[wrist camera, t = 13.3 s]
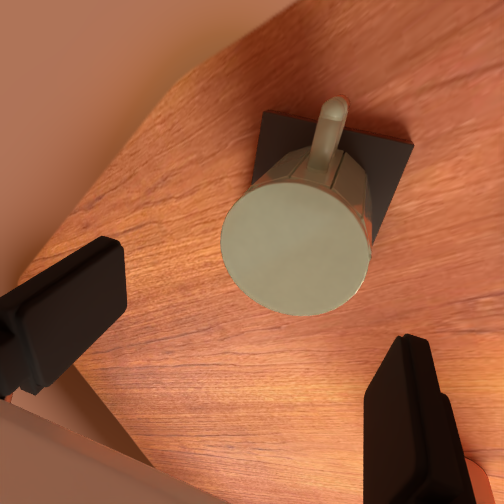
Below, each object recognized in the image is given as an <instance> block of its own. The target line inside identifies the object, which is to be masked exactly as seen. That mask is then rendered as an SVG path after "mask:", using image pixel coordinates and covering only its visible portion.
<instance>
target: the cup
mask: <svg viewBox="0 0 504 504" xmlns="http://www.w3.org/2000/svg"><path fill="white" fill-rule="evenodd" d="M349 108H350V100H349V98H348V97H347V96H346V95H343V94H340V95H336V96H335V97H333V98H331V99H329V100H327V101H326V102H325V103H324V104H323V105H322V107H321V111H320V115H319V118H318V122H317V126H316V130H315V134H314V138H313V142H312V145H311V146H308V147H305V148H301V149H298V150H295V151H292V152H289V153H288V154H286V155H285V156H284V157H283V158H282V159H281V160H279V161H278V162H277V163H276V164H275V165H274V166H273V167H272V168H271V169H269V170H268V171H267V172H266V173H265V174H264V175H263V176H262V177H261V178H259V179H258V180H257V181H256V182H255V183H254V184H253V185H252V186H251V187H249V189H248V190H247V191H246V192H245V193H244V194H243V195H242V197H241V198H240V199H239V200H238V201H237V202H236V203H235V204H234V205H233V206H232V208H231V209H230V210H229V212H228V214H227V216H226V218H225V220H224V223H223V226H222V231H221V240H220V244H221V253H222V257H223V261H224V264H225V267H226V269H227V271H228V273H229V275H230V276H231V278H232V279H233V281H234V282H235V283H236V285H237V286H238V287H239V288H240V289H241V290H242V291H243V292H244V293H245V294H246V295H247V296H248V297H250V298H251V299H252V300H254V301H255V302H257V303H258V304H260V305H262V306H264V307H266V308H268V309H270V310H273V311H276V312H279V313H282V314H287V315H294V316H312V315H319V314H322V313H326V312H329V311H331V310H334V309H336V308H338V307H340V306H341V305H343V304H344V303H346V302H347V301H348V300H349V299H350V298H351V297H353V296H354V295H355V294H356V292H357V291H358V289H359V288H360V287H361V285H362V283H363V281H364V279H365V277H366V274H367V271H368V265H369V261H370V259H371V253H372V196H371V191H370V187H369V182H368V177H367V174H365V170H364V169H363V168H362V167H361V166H360V165H359V164H358V163H357V162H356V161H355V160H354V159H353V158H352V157H351V156H350V155H349V154H348V153H347V152H345V153H344V151H343V150H339V149H337V148H338V145H339V142H340V138H341V135H342V132H343V128H344V125H345V121H346V118H347V115H348V111H349ZM343 153H344V154H343Z"/></svg>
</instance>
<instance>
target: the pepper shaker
mask: <svg viewBox="0 0 504 504" xmlns="http://www.w3.org/2000/svg"><path fill="white" fill-rule="evenodd" d="M465 461H466V464H467V468H468V472H469V476H470V480H471V484H472V487H473V491H474V495H475V499H476V503H477V504H495V500H494V497H493V493H492V490H491V486H490V483H489V479H488V477H487V475H486V474H485V472H484V470H483V469H482V468H480V467H479V466H478V465H477V464H475V463H474V462H473V461H471V460H469V459H466V458H465Z"/></svg>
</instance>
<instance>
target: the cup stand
mask: <svg viewBox="0 0 504 504" xmlns="http://www.w3.org/2000/svg"><path fill="white" fill-rule="evenodd" d="M317 122H318V121H317V120H313V119H308V118H304V117H299V116H295V115H290V114H286V113H281V112H277V111H272V110H267V111H264V112H263V116H262V122H261V128H260V134H259V141H258V147H257V153H256V159H255V165H254V171H253V177H252V183H251V186H252V185H253V184H254V183H255V182H256V181H257V180H258V179H259V178H261V177H262V176H263V175H264V174H265V173H266V172H267V171H268V170H269V169H271V168H272V167H273V166H274V165H275V164H276V163H277V162H278V161H279V160H281V159H282V158H283V157H284V156H285V155H286V154H288V153H289V152H292V151H295V150H298V149H301V148H305V147H308V146H311V145H312V142H313V138H314V134H315V130H316V126H317ZM413 148H414V144H413V142H412V141H408V140H403V139H399V138H394V137H390V136H385V135H381V134H376V133H372V132H367V131H363V130H358V129H354V128H349V127H344V128H343V132H342V135H341V138H340V142H339V145H338V148H337V149H339V150H343V151H344V153H345V152H347V153H348V154H349V155H350V156H351V157H352V158H353V159H354V160H355V161H356V162H357V163H358V164H359V165H360V166H361V167H362V168H363V169H364V170H365V174H367V177H368V182H369V187H370V191H371V196H372V246H373V243H374V241H375V238H376V236H377V234H378V231H379V229H380V226H381V224H382V222H383V219H384V217H385V214H386V212H387V210H388V207H389V205H390V202H391V200H392V198H393V195H394V193H395V191H396V188H397V186H398V183H399V181H400V179H401V176H402V174H403V171H404V169H405V167H406V164H407V162H408V159H409V157H410V155H411V152H412V150H413ZM344 153H343V154H344Z"/></svg>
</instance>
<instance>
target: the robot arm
mask: <svg viewBox="0 0 504 504" xmlns="http://www.w3.org/2000/svg"><path fill="white" fill-rule="evenodd" d="M126 308H127V292H126V276H125V261H124V249H123V247H122V246H121V244H120V242H119V241H118V240H115V239H112V238H109V237H105V236H100V237H98V238H97V239H95V240H93V241H92V242H90V243H88V244H87V245H85V246H84V247H82V248H80V249H79V250H77V251H75V252H74V253H72V254H70V255H69V256H67V257H66V258H64V259H62V260H61V261H59V262H57V263H56V264H54V265H52V266H51V267H49V268H48V269H46V270H44V271H43V272H41V273H39V274H38V275H36V276H34V277H33V278H31V279H30V280H28V281H26V282H25V283H23V284H21V285H20V286H18V287H16V288H15V289H13V290H12V291H10V292H8V293H7V294H5V295H3V296H2V297H0V504H231V503H229V502H227V501H225V500H222V499H220V498H218V497H216V496H214V495H212V494H209V493H207V492H205V491H203V490H201V489H199V488H196V487H194V486H192V485H190V484H188V483H186V482H183V481H181V480H179V479H177V478H175V477H172V476H170V475H168V474H166V473H164V472H161V471H159V470H157V469H155V468H153V467H150V466H148V465H146V464H144V463H142V462H139V461H137V460H135V459H133V458H131V457H128V456H126V455H124V454H122V453H120V452H118V451H115V450H113V449H111V448H109V447H107V446H104V445H102V444H100V443H98V442H96V441H93V440H91V439H89V438H87V437H85V436H82V435H80V434H78V433H75V432H73V431H71V430H69V429H66V428H64V427H62V426H60V425H58V424H55V423H53V422H51V421H49V420H47V419H44V418H42V417H40V416H38V415H35V414H33V413H31V412H29V411H27V410H24V409H22V408H20V407H18V406H15V405H13V404H11V400H12V395H13V392H14V391H15V390H16V389H17V388H18V387H19V386H20V388H21V390H24V391H26V392H28V393H31V394H33V395H37V394H38V393H39V392H40V391H41V390H42V389H43V388H44V387H48V386H50V385H51V384H53V382H54V381H55V380H57V379H58V378H59V376H61V375H62V374H63V373H64V372H65V371H66V370H67V369H68V368H69V367H70V366H71V365H72V364H73V363H74V362H75V361H76V360H77V359H78V358H79V357H80V356H81V355H82V354H83V353H84V352H85V351H86V350H87V349H88V348H89V347H90V346H91V345H92V344H93V343H94V342H95V341H96V340H97V339H98V338H99V337H100V336H101V335H102V334H103V333H104V332H105V331H106V330H107V329H108V328H109V327H110V326H111V325H112V324H113V323H114V322H115V321H116V320H117V319H118V318H119V317H120V316H121V315H122V314H123V313H124V312H125V310H126ZM363 504H477V503H476V499H475V495H474V491H473V487H472V484H471V480H470V476H469V472H468V468H467V464H466V461H465V457H464V453H463V449H462V445H461V441H460V438H459V434H458V430H457V426H456V422H455V418H454V415H453V411H452V407H451V403H450V401H449V398H448V397H447V395H446V394H443V393H441V392H440V388H439V383H438V379H437V375H436V371H435V367H434V362H433V358H432V354H431V350H430V346H429V342H428V341H427V340H426V339H423V338H420V337H417V336H414V335H411V334H405V335H404V336H403V337H401V336H397V337H396V339H395V340H394V342H393V344H392V345H391V347H390V349H389V351H388V353H387V354H386V356H385V358H384V360H383V361H382V363H381V365H380V367H379V368H378V370H377V372H376V374H375V376H374V377H373V379H372V381H371V383H370V384H369V386H368V388H367V390H366V392H365V396H364V442H363Z"/></svg>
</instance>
